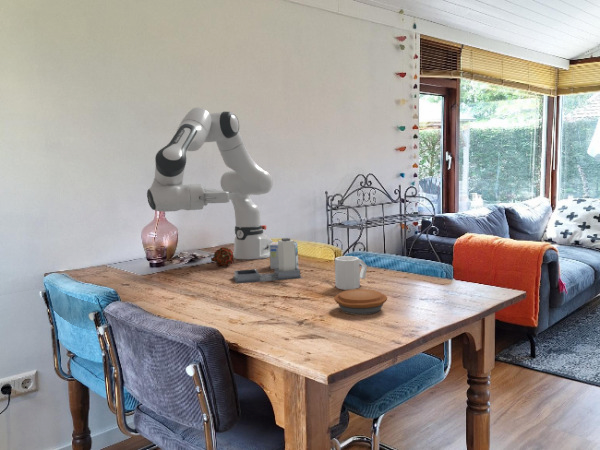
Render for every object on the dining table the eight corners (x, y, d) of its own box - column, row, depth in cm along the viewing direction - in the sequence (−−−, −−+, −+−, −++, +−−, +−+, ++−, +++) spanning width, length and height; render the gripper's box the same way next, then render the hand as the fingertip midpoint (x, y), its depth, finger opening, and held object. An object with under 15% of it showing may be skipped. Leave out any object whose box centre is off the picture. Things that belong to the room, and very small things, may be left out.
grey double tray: (236, 286, 199) (236, 276, 198) (232, 279, 210) (232, 269, 210) (302, 280, 204) (302, 271, 204) (295, 273, 216) (295, 265, 215)
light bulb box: (298, 267, 228) (297, 241, 226) (297, 271, 221) (296, 244, 219) (272, 267, 229) (271, 241, 227) (270, 271, 222) (269, 244, 221)
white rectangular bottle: (284, 277, 206) (283, 239, 204) (279, 275, 210) (277, 238, 208) (295, 275, 208) (294, 238, 206) (289, 273, 212) (288, 237, 210)
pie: (352, 299, 177) (352, 284, 176) (396, 307, 167) (396, 290, 166) (324, 311, 165) (323, 295, 164) (369, 320, 155) (369, 302, 154)
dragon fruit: (228, 272, 230) (217, 271, 240) (242, 257, 234) (230, 257, 244) (215, 257, 228) (204, 257, 238) (229, 242, 231) (218, 243, 241)
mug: (344, 290, 188) (344, 261, 186) (330, 285, 195) (329, 258, 194) (373, 285, 194) (373, 257, 192) (358, 281, 201) (358, 253, 200)
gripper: (202, 189, 185) (243, 187, 190) (190, 186, 204) (227, 184, 209) (203, 208, 186) (244, 205, 191) (191, 203, 204) (228, 201, 209)
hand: (235, 194), depth 200 cm, fingers open, 8 cm apart
